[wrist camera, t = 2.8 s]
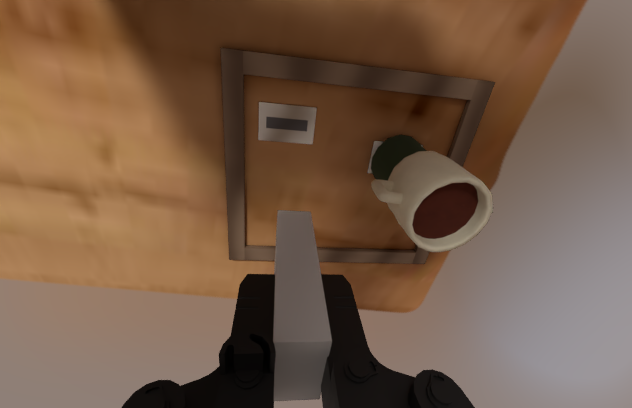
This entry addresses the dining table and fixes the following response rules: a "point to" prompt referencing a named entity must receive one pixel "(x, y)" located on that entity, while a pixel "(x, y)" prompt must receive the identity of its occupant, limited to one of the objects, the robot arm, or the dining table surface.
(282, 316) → the robot arm
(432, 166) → the character mug
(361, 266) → the dining table surface
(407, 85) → the label frame
